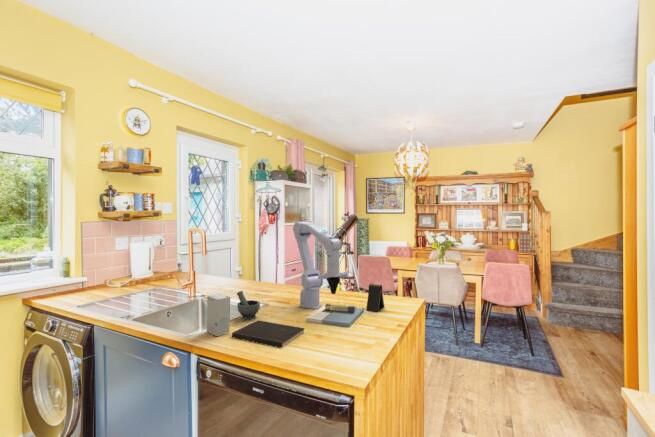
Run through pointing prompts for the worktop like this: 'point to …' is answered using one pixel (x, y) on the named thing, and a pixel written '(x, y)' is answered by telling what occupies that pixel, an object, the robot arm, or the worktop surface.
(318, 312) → the jamb plate
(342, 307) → the swing bar
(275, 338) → the hardcover book
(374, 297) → the phone stand
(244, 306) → the mortar and pestle
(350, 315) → the door panel
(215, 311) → the skincare box
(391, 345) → the worktop surface
